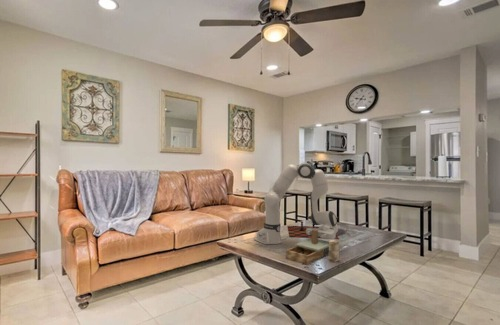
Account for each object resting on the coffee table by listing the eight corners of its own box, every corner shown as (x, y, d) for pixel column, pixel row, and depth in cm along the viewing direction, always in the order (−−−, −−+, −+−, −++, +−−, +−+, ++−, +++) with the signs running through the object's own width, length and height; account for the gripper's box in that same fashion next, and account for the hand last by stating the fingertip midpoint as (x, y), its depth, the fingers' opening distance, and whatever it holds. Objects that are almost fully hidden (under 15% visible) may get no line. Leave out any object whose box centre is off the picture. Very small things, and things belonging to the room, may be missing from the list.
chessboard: (329, 227, 257) (329, 216, 257) (339, 239, 217) (339, 226, 217) (287, 226, 261) (287, 215, 261) (289, 238, 221) (289, 224, 221)
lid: (295, 245, 182) (295, 230, 182) (311, 239, 197) (311, 225, 197) (318, 251, 170) (318, 235, 170) (333, 244, 186) (333, 229, 186)
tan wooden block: (328, 260, 170) (328, 241, 170) (331, 258, 173) (332, 239, 173) (335, 262, 166) (335, 242, 167) (338, 260, 170) (338, 241, 170)
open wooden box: (286, 257, 173) (286, 250, 173) (302, 250, 187) (302, 243, 187) (307, 264, 162) (308, 256, 162) (323, 256, 176) (323, 248, 176)
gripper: (311, 224, 201) (301, 227, 191) (337, 229, 187) (328, 233, 177) (311, 233, 201) (301, 236, 191) (337, 238, 187) (328, 243, 177)
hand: (314, 235), depth 184 cm, fingers open, 8 cm apart
